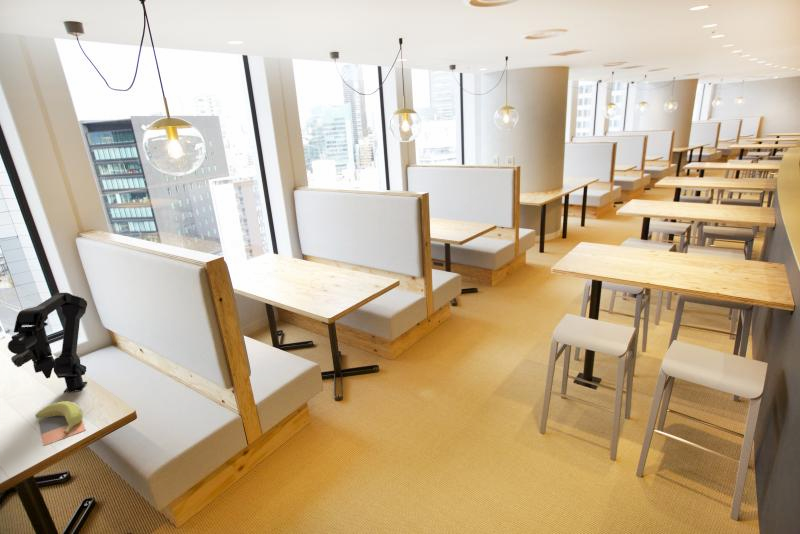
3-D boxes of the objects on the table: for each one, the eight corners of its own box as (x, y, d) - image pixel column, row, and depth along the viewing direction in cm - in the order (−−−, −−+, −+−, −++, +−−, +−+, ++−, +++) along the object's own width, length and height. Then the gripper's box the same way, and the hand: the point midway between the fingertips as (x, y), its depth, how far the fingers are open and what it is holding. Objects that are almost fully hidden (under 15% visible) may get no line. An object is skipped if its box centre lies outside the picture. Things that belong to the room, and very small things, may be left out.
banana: (72, 389, 169) (80, 418, 155) (80, 398, 172) (88, 428, 158) (31, 410, 162) (35, 442, 148) (39, 419, 165) (44, 452, 151)
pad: (41, 434, 155) (41, 434, 155) (81, 420, 162) (81, 419, 162) (43, 445, 149) (43, 445, 149) (85, 430, 157) (85, 429, 157)
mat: (38, 421, 162) (38, 421, 162) (77, 408, 169) (77, 408, 169) (41, 434, 155) (41, 434, 155) (81, 420, 162) (81, 419, 162)
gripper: (8, 339, 164) (19, 376, 168) (11, 357, 151) (22, 396, 155) (45, 330, 171) (55, 365, 175) (51, 347, 158) (61, 384, 162)
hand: (48, 377), depth 167 cm, fingers closed
